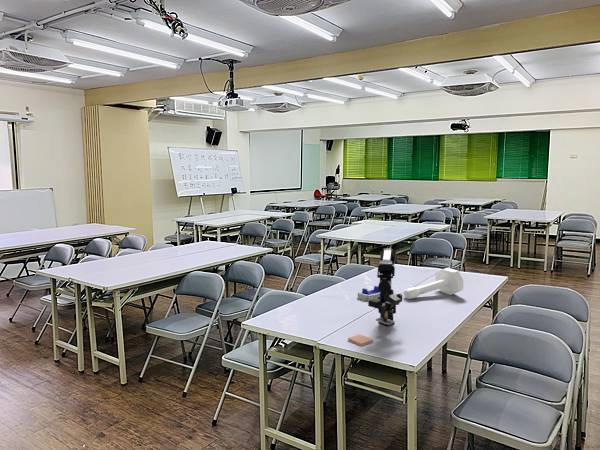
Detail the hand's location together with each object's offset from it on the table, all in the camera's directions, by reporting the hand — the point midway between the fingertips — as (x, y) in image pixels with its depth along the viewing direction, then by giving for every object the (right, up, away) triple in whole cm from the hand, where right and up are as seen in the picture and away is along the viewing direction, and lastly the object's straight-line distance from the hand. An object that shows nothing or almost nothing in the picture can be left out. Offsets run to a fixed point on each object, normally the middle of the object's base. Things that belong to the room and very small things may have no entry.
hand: (385, 317), depth 230 cm
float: (0, -2, 0) cm, 2 cm away
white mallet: (+45, 0, +67) cm, 81 cm away
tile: (-10, -8, -7) cm, 15 cm away
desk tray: (+4, 0, +66) cm, 66 cm away
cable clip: (+4, 0, +67) cm, 67 cm away
